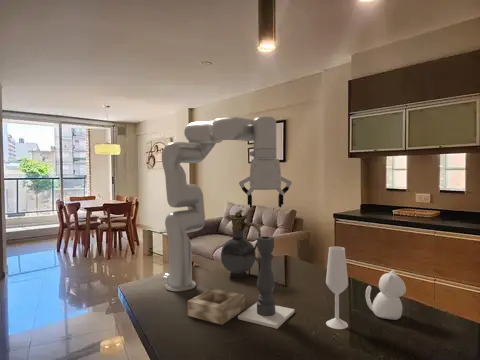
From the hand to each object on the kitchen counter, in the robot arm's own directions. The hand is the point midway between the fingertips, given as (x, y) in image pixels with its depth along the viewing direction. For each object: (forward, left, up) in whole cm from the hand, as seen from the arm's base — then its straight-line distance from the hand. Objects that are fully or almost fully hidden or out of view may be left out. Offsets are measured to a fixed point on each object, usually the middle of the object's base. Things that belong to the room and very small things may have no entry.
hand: (265, 207), depth 115 cm
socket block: (-16, -6, -36) cm, 40 cm away
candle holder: (0, 0, -35) cm, 35 cm away
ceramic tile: (0, 0, -36) cm, 36 cm away
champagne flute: (+22, +5, -36) cm, 43 cm away
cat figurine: (+34, +19, -36) cm, 53 cm away
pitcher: (-29, +33, -36) cm, 57 cm away
